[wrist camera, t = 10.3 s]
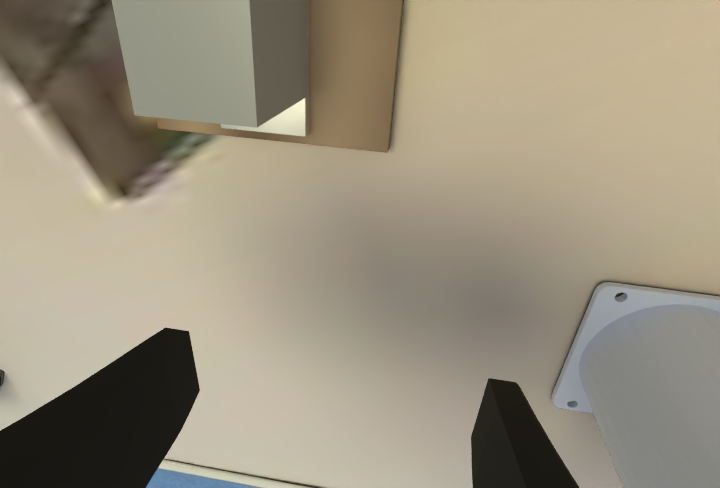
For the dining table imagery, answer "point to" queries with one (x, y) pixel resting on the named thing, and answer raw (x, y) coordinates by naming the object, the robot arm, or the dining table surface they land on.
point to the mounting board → (341, 77)
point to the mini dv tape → (1, 377)
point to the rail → (298, 114)
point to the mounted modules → (213, 58)
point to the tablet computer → (207, 478)
